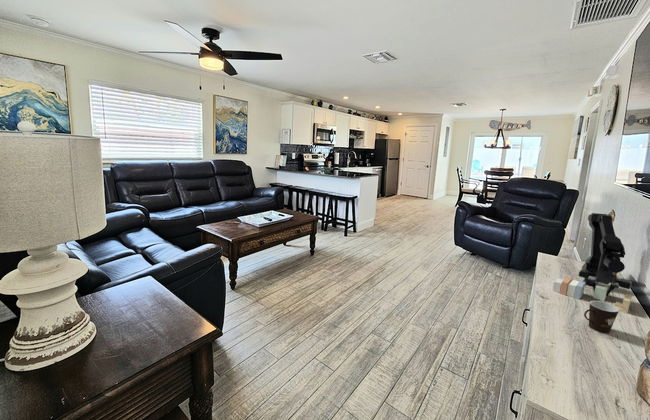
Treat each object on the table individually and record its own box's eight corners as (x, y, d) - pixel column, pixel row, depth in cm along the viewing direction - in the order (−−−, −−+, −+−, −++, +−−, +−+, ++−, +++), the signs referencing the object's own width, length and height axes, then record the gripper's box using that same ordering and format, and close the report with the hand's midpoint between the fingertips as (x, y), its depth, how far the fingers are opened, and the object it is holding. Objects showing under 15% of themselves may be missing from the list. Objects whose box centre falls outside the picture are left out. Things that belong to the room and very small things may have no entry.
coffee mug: (606, 324, 123) (611, 302, 121) (618, 336, 115) (624, 313, 113) (572, 319, 127) (576, 298, 125) (582, 330, 119) (586, 308, 117)
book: (596, 292, 152) (598, 281, 151) (607, 295, 149) (609, 284, 148) (593, 297, 146) (595, 286, 145) (604, 300, 143) (606, 289, 142)
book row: (556, 286, 158) (558, 274, 157) (583, 293, 150) (585, 282, 149) (551, 291, 152) (554, 279, 151) (579, 299, 144) (581, 287, 143)
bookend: (615, 304, 141) (618, 292, 139) (629, 307, 137) (631, 295, 136) (613, 309, 136) (616, 297, 134) (627, 313, 132) (629, 301, 131)
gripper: (578, 263, 146) (573, 292, 149) (632, 275, 132) (624, 307, 135) (583, 258, 153) (578, 286, 156) (635, 269, 139) (627, 299, 142)
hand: (600, 294), depth 147 cm, fingers closed on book, 4 cm apart
